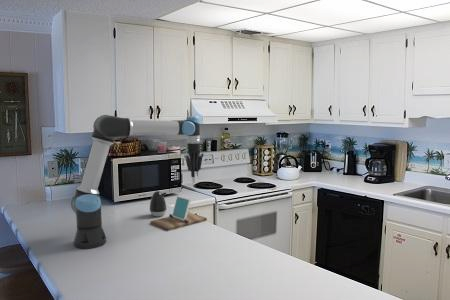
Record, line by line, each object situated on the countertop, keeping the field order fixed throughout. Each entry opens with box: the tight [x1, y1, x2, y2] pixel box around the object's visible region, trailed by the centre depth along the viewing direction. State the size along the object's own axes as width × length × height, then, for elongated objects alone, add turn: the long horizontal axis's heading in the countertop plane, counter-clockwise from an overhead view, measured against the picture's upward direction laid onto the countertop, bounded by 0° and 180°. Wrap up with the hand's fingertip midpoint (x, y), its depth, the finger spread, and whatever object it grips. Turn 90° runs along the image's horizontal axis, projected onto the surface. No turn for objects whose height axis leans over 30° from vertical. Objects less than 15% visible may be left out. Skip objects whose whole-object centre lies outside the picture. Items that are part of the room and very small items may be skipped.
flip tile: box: [171, 195, 192, 220], centre depth 229 cm, size 12×12×1 cm
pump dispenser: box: [149, 190, 167, 218], centre depth 242 cm, size 10×10×15 cm
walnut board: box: [150, 211, 208, 232], centre depth 228 cm, size 27×18×3 cm, turn 132°
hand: (194, 182), depth 234 cm, fingers closed
